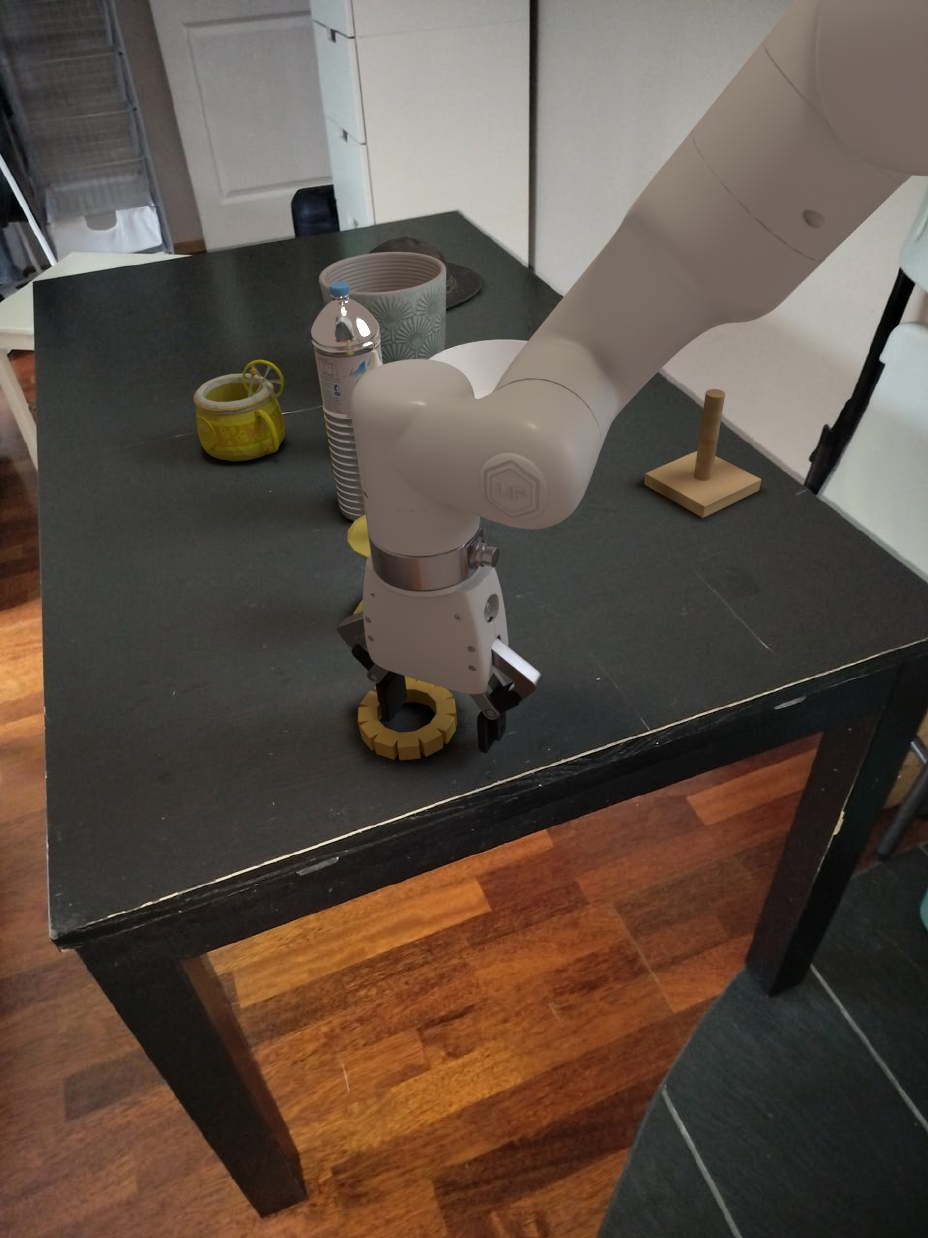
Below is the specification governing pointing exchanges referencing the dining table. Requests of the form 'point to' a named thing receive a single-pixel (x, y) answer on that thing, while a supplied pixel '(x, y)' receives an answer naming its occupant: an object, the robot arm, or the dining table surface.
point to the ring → (415, 741)
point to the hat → (465, 277)
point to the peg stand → (704, 469)
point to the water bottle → (343, 385)
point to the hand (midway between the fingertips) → (441, 724)
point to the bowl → (482, 362)
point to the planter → (397, 299)
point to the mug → (240, 415)
